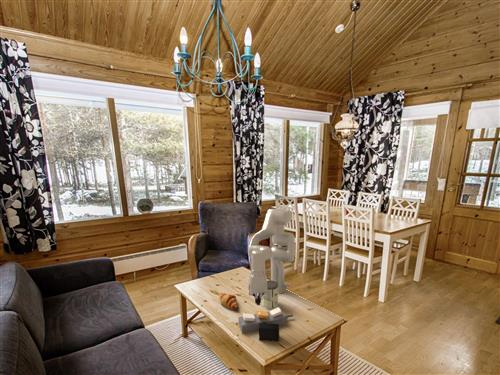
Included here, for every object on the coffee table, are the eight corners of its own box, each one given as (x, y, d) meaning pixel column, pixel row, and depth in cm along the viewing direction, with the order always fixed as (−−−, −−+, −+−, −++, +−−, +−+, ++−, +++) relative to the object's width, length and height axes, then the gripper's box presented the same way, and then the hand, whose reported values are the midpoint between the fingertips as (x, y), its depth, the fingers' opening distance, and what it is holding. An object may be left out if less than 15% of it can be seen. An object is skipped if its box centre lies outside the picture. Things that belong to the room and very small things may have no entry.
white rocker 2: (279, 309, 144) (278, 307, 143) (281, 313, 140) (281, 311, 140) (269, 313, 142) (269, 311, 142) (272, 317, 138) (271, 315, 138)
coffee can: (264, 299, 165) (264, 279, 164) (279, 301, 162) (279, 281, 160) (260, 307, 155) (260, 286, 154) (276, 310, 152) (276, 289, 151)
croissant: (217, 302, 168) (212, 294, 165) (228, 292, 172) (223, 283, 170) (233, 317, 150) (228, 308, 148) (245, 305, 155) (240, 296, 152)
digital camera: (279, 334, 131) (279, 322, 130) (279, 341, 126) (279, 329, 125) (259, 333, 132) (259, 321, 131) (259, 340, 127) (258, 327, 126)
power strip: (289, 314, 148) (289, 307, 148) (295, 322, 140) (295, 315, 140) (238, 323, 140) (238, 316, 139) (241, 333, 132) (241, 325, 132)
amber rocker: (265, 314, 142) (266, 311, 142) (268, 318, 138) (268, 315, 138) (256, 313, 140) (256, 310, 140) (258, 317, 136) (258, 314, 136)
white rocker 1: (252, 316, 139) (253, 314, 139) (254, 321, 136) (255, 318, 136) (242, 316, 138) (243, 313, 138) (244, 320, 134) (245, 317, 134)
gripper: (268, 268, 141) (268, 298, 143) (243, 271, 137) (243, 302, 139) (273, 273, 134) (272, 305, 135) (246, 276, 130) (246, 309, 131)
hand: (258, 304), depth 137 cm, fingers closed
